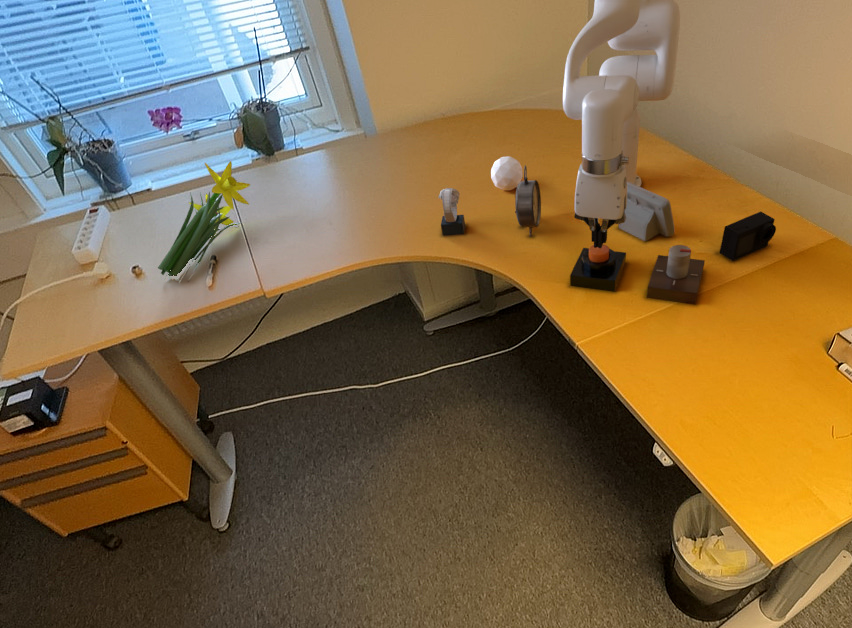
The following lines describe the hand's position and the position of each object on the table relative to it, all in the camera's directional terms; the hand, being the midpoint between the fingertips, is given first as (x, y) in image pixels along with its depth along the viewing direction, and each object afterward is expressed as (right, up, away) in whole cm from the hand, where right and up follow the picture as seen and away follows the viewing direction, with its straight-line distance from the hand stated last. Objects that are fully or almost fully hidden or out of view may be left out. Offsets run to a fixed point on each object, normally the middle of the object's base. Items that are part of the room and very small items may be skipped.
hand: (599, 244), depth 124 cm
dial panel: (+17, -9, +1) cm, 19 cm away
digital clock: (+14, +8, +17) cm, 23 cm away
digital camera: (+34, 0, +7) cm, 35 cm away
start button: (0, -2, +3) cm, 3 cm away
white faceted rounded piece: (-19, +27, +39) cm, 51 cm away
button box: (+1, -5, +6) cm, 8 cm away
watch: (-33, +10, +25) cm, 43 cm away
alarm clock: (-14, +10, +23) cm, 28 cm away
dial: (+16, -6, -2) cm, 18 cm away
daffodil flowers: (-98, +6, +30) cm, 103 cm away
